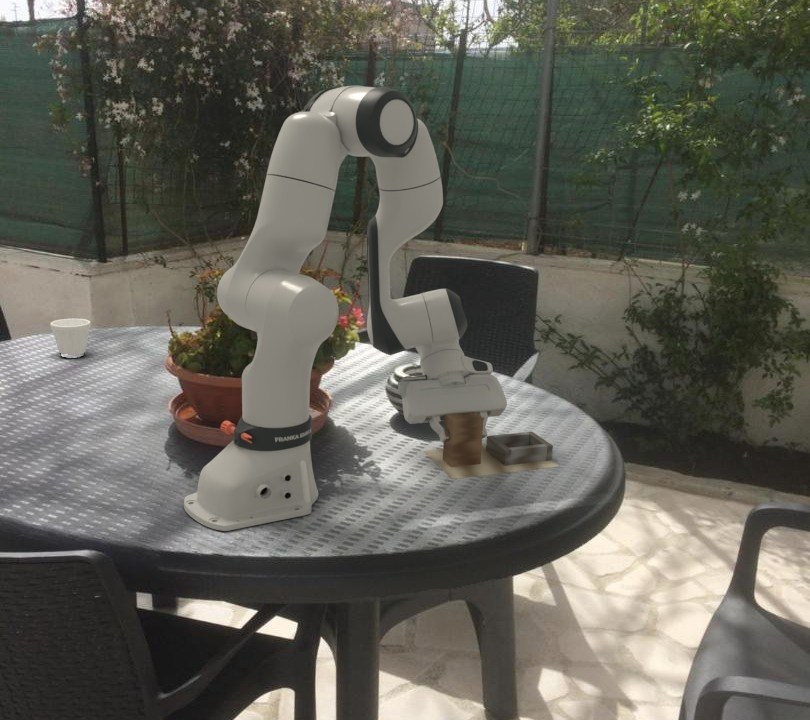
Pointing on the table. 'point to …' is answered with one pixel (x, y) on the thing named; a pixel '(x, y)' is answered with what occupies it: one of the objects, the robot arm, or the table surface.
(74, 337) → the cup
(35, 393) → the table surface
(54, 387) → the table surface
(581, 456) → the table surface
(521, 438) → the floor panel
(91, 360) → the table surface
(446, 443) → the wooden block
